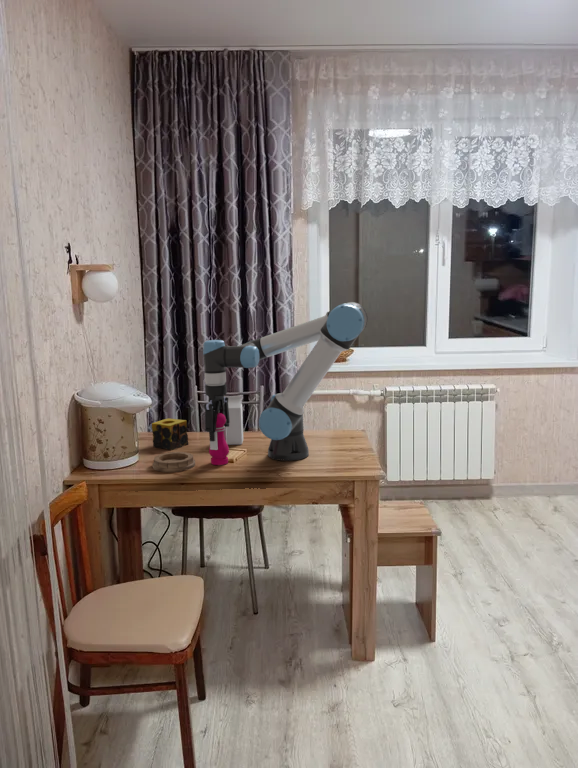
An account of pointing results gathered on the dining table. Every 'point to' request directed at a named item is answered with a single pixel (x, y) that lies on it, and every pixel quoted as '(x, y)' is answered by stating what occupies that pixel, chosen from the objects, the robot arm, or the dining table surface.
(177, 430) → the black yellow cube
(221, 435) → the pepper mill
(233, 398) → the milk carton
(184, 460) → the grey brown stone ring
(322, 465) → the dining table surface
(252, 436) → the dining table surface
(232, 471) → the dining table surface
